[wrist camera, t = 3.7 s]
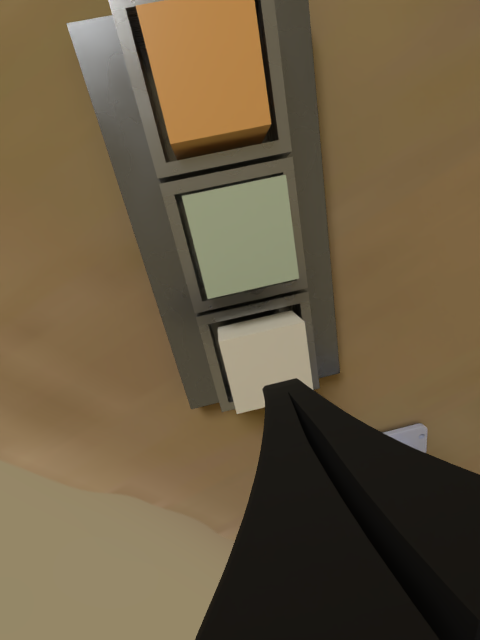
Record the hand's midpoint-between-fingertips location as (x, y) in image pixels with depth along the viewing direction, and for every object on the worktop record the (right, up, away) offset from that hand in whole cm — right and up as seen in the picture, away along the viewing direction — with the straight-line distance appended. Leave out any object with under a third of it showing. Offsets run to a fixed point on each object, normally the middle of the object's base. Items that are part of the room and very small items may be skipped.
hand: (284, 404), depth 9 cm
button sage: (-2, +7, +3) cm, 8 cm away
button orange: (-3, +13, +2) cm, 13 cm away
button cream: (0, +1, +4) cm, 5 cm away
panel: (-2, +8, +5) cm, 9 cm away
